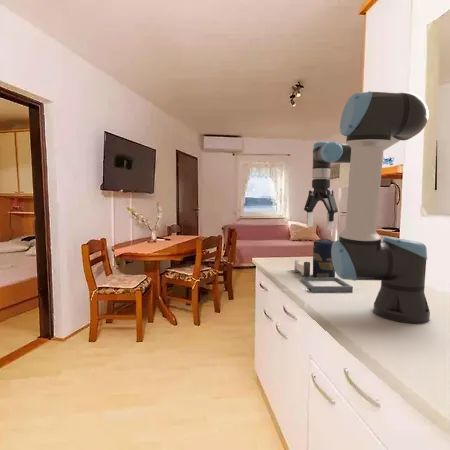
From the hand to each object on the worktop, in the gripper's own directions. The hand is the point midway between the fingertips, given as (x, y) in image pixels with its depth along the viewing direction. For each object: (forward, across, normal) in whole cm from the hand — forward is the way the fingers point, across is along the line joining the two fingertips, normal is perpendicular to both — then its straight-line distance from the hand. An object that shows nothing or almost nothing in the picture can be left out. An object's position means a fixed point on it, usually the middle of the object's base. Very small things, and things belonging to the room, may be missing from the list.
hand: (319, 228), depth 144 cm
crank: (+21, +5, +5) cm, 22 cm away
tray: (+22, -14, +6) cm, 27 cm away
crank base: (+22, +11, +3) cm, 25 cm away
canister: (+23, -2, -1) cm, 23 cm away
